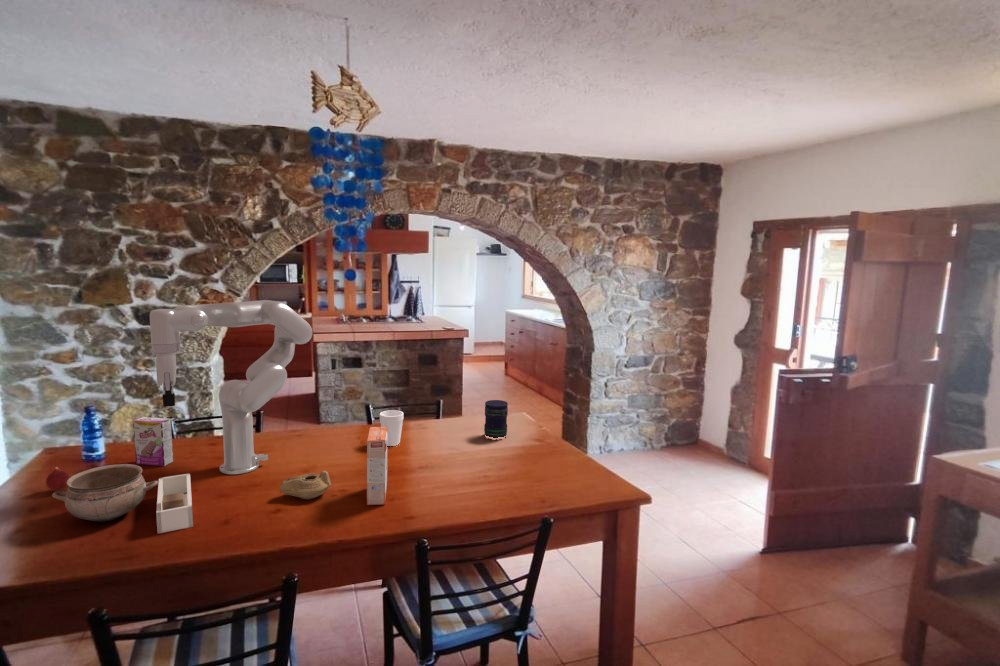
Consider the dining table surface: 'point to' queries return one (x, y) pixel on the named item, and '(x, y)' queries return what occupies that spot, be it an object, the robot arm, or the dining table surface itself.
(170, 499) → the walnut block
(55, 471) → the onion
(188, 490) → the box
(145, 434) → the candy bar box
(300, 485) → the oil lamp
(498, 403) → the storage jar
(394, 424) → the foam cup
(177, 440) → the dining table surface
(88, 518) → the cooking pot
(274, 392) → the robot arm
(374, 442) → the cracker box
